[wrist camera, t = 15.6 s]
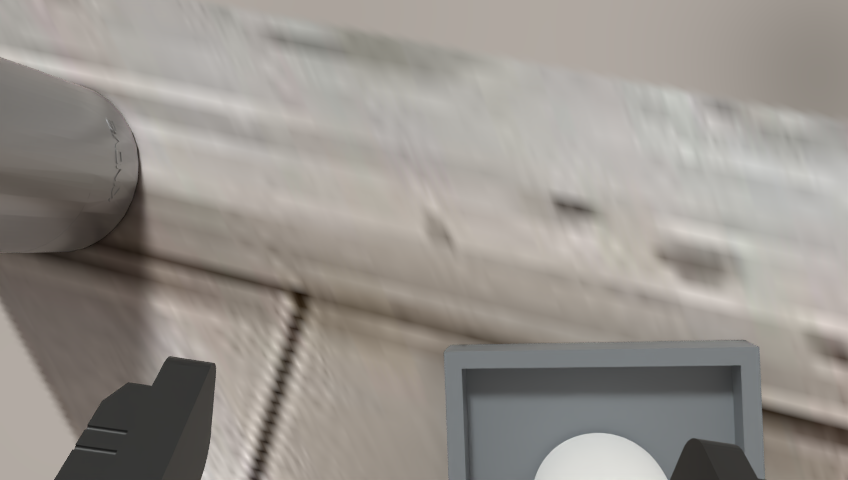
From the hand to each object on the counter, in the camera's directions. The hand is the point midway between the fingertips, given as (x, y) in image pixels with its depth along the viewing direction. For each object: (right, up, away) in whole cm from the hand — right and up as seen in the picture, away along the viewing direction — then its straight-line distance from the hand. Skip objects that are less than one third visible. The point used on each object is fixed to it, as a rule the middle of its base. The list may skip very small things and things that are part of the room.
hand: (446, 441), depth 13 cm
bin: (+8, -9, +24) cm, 27 cm away
